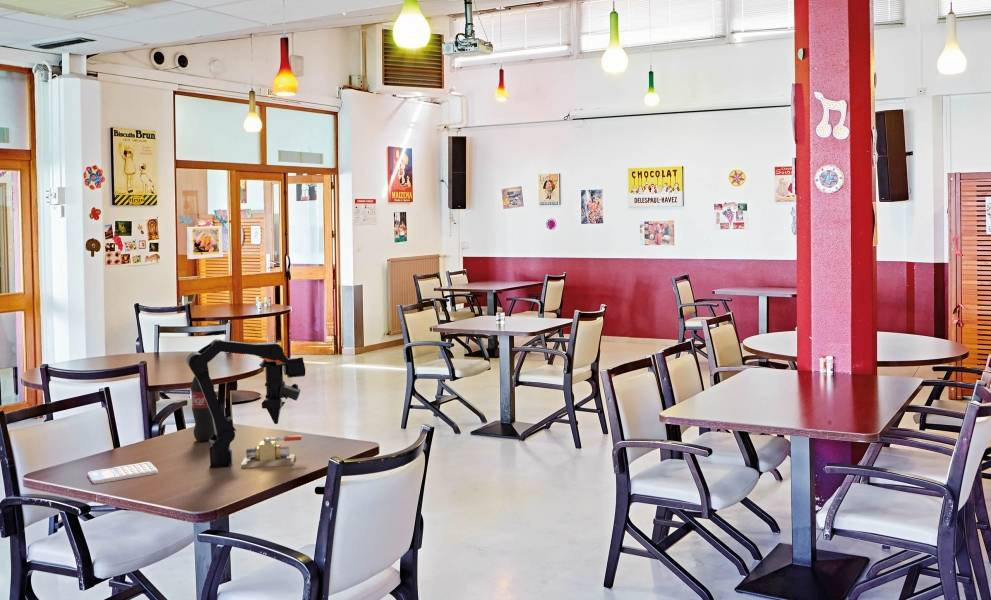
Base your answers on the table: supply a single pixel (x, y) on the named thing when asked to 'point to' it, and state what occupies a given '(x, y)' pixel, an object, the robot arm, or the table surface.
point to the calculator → (122, 472)
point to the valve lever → (284, 438)
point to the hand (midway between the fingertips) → (276, 423)
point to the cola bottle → (201, 413)
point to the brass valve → (268, 452)
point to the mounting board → (268, 462)
